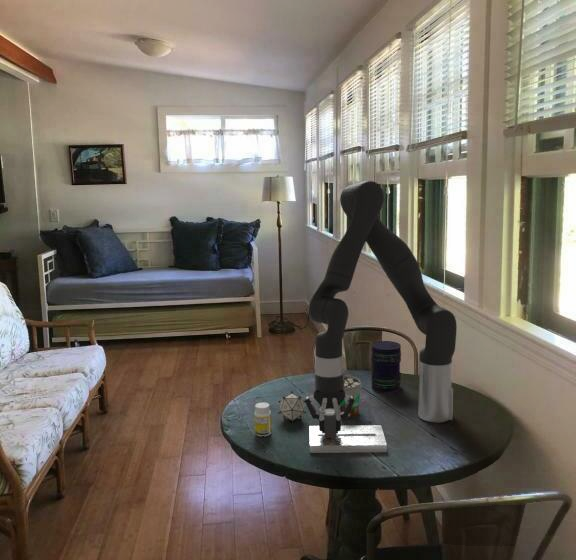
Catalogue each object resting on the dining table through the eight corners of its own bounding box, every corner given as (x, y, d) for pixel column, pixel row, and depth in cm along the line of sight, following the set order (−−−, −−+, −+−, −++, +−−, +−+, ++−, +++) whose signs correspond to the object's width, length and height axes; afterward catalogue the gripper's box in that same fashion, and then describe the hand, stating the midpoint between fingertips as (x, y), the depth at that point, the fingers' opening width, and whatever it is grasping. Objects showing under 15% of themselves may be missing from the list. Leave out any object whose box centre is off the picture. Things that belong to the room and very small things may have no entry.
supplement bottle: (262, 428, 166) (261, 400, 165) (275, 432, 163) (274, 404, 162) (251, 434, 163) (250, 405, 161) (264, 438, 160) (263, 409, 158)
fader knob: (335, 429, 158) (334, 408, 157) (336, 437, 153) (335, 416, 152) (324, 429, 158) (323, 409, 157) (324, 438, 154) (324, 416, 152)
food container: (360, 422, 168) (360, 390, 166) (339, 421, 169) (339, 388, 168) (363, 406, 180) (363, 375, 178) (344, 404, 181) (343, 374, 180)
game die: (290, 428, 174) (289, 396, 179) (313, 424, 169) (312, 391, 174) (271, 423, 168) (271, 389, 172) (294, 418, 163) (294, 384, 168)
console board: (380, 431, 162) (380, 424, 161) (386, 452, 150) (386, 444, 150) (309, 432, 162) (309, 425, 162) (309, 452, 151) (309, 445, 150)
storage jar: (365, 389, 194) (365, 346, 191) (379, 380, 202) (379, 339, 199) (392, 395, 188) (392, 351, 186) (405, 386, 196) (406, 343, 193)
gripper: (354, 366, 156) (354, 426, 159) (302, 366, 157) (303, 426, 160) (357, 375, 149) (357, 438, 152) (302, 376, 149) (303, 438, 152)
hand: (329, 431), depth 156 cm, fingers closed on fader knob, 3 cm apart
